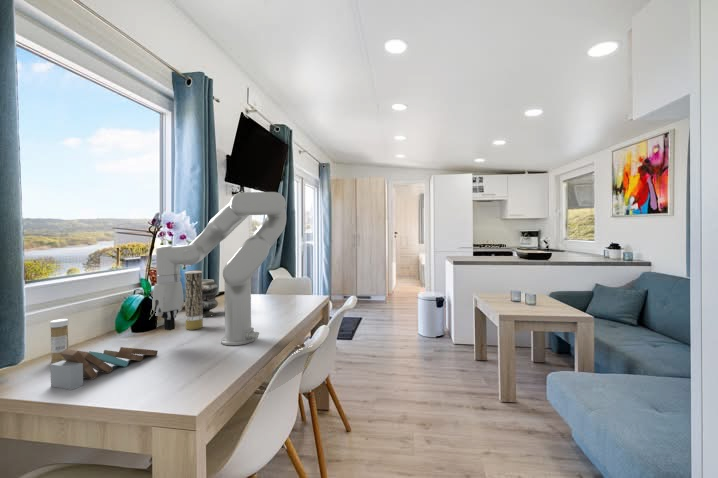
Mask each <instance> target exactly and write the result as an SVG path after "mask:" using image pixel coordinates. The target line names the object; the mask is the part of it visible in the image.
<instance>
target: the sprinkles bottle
mask: <svg viewBox="0 0 718 478" xmlns="http://www.w3.org/2000/svg"><path fill="white" fill-rule="evenodd" d="M68 326H69V319H68V318H59V319H53V320H50V321H49V327H50V352H51V353H50V354H51V360H50V362H51V364H53V363H56V362H59V361H66V360H65V359H64V357H63V356H62V355H61V354H60V353H61V352H63V351H64V350H65V349H70V348H69V346H70V345H69V329H68Z"/></svg>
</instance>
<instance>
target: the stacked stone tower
mask: <svg viewBox="0 0 718 478" xmlns="http://www.w3.org/2000/svg"><path fill="white" fill-rule="evenodd" d="M218 288H219V287H218V285H217V284H216V282H215V280H214V279H202V308H203V318H206V317H205V316H210V317H212V316H211V315H214V314H215V315H216V314H217V313H216V312H214V311H211V310H214V309H215V308H217V307H218V304H219V302H218V301H217V299H216V291H217V290H218ZM215 315H214V316H215Z"/></svg>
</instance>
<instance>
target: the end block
mask: <svg viewBox="0 0 718 478" xmlns="http://www.w3.org/2000/svg"><path fill="white" fill-rule="evenodd" d="M49 366H50V387H53V388H58V389H63V390H69V391H72V390H76V389H78V388H80V387H83V386H84V378H83V363H76V362H70V361H59V362H56V363H50V365H49Z"/></svg>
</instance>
